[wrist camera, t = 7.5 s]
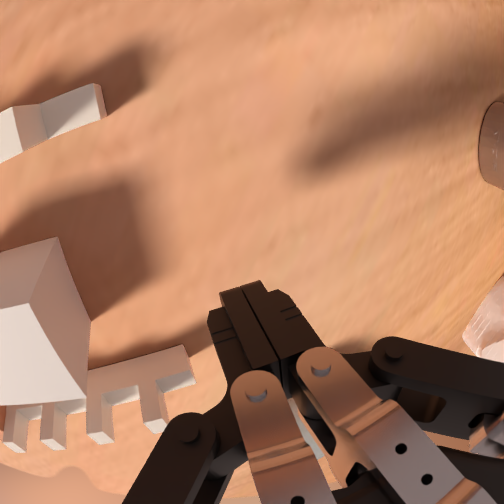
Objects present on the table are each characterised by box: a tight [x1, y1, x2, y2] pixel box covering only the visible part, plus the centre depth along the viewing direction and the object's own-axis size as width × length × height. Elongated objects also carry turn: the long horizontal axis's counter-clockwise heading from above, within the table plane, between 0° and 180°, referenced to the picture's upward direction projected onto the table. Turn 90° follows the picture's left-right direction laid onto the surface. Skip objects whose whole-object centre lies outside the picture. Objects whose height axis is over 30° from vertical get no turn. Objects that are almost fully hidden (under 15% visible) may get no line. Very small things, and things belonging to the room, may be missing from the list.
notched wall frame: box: [0, 83, 196, 453], centre depth 12 cm, size 18×18×5 cm
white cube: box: [0, 236, 91, 406], centre depth 12 cm, size 6×6×6 cm
